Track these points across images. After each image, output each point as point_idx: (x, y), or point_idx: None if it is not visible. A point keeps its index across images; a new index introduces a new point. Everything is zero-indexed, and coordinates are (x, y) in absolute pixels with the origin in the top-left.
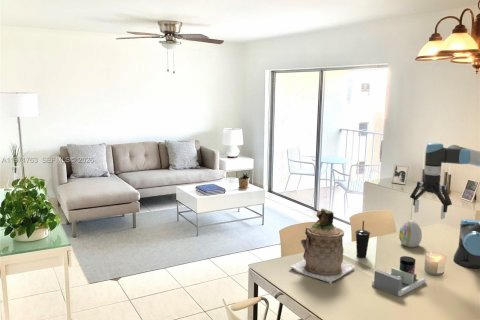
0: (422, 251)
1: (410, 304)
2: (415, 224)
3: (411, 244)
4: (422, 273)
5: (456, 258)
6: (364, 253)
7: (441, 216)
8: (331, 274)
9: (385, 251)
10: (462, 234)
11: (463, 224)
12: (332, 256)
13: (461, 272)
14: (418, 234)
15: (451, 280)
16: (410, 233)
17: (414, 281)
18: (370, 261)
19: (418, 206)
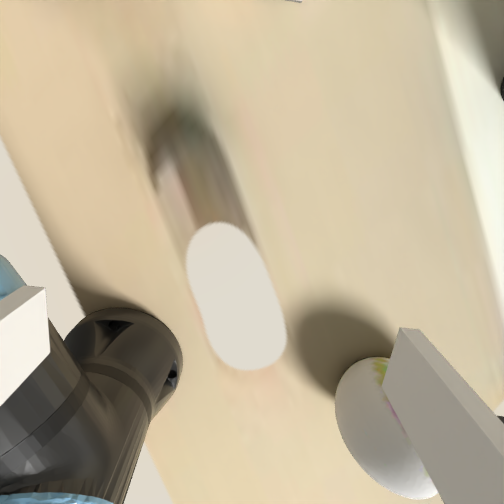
0: (305, 349)
1: None
2: (390, 466)
3: (359, 363)
4: (212, 98)
5: (153, 331)
6: None
7: (11, 302)
8: None
9: (437, 239)
10: (44, 380)
11: (57, 491)
12: None
13: (102, 239)
14: (351, 416)
15: (89, 116)
16: (386, 397)
17: None
18: (464, 51)
19: (419, 448)
